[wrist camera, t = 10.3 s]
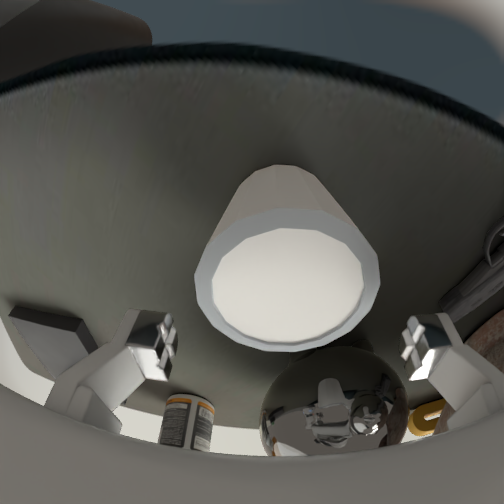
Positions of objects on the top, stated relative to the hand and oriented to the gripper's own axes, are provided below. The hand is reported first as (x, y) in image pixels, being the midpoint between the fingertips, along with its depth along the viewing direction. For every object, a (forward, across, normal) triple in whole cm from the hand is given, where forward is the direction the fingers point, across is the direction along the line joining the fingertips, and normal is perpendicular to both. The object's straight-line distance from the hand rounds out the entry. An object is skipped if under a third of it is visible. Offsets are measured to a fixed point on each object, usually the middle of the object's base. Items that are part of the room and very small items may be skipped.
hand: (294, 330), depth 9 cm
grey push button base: (+8, +23, +17) cm, 30 cm away
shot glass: (+9, 0, 0) cm, 9 cm away
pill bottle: (+9, +9, +24) cm, 27 cm away
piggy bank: (+9, -4, +14) cm, 17 cm away
